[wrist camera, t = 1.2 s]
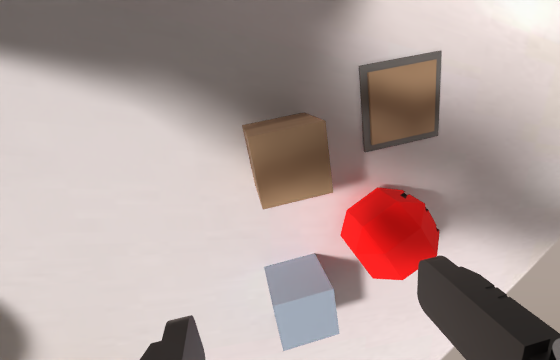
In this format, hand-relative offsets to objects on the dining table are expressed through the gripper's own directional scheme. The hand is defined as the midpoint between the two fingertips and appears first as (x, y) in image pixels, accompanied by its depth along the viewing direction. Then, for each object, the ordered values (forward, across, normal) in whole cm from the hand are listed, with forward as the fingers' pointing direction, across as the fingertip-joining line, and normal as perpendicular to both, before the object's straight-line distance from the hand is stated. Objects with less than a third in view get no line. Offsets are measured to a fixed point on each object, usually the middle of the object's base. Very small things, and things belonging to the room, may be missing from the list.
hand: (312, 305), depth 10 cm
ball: (+20, -12, +8) cm, 24 cm away
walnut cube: (+19, -2, -1) cm, 19 cm away
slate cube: (+19, -2, +15) cm, 24 cm away
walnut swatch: (+19, -15, -4) cm, 25 cm away
